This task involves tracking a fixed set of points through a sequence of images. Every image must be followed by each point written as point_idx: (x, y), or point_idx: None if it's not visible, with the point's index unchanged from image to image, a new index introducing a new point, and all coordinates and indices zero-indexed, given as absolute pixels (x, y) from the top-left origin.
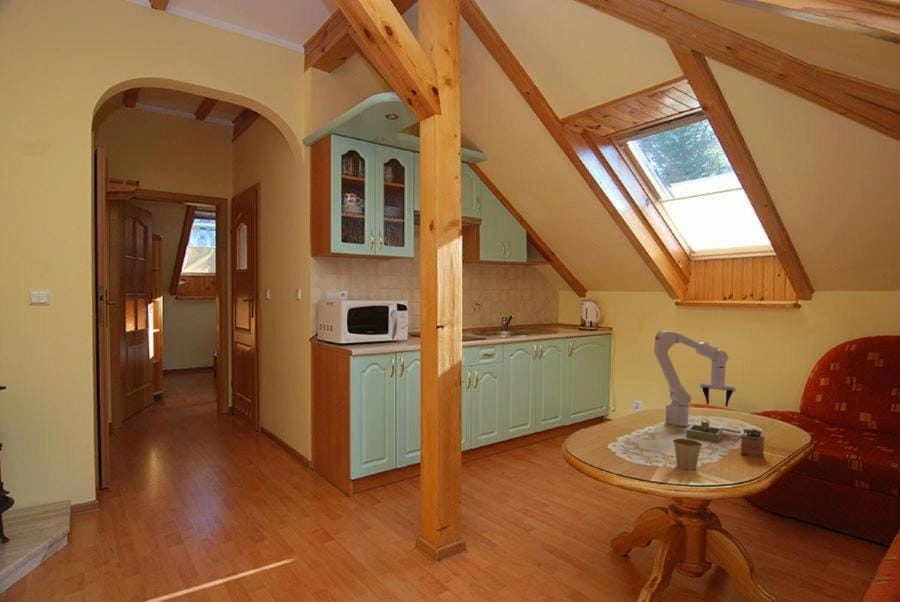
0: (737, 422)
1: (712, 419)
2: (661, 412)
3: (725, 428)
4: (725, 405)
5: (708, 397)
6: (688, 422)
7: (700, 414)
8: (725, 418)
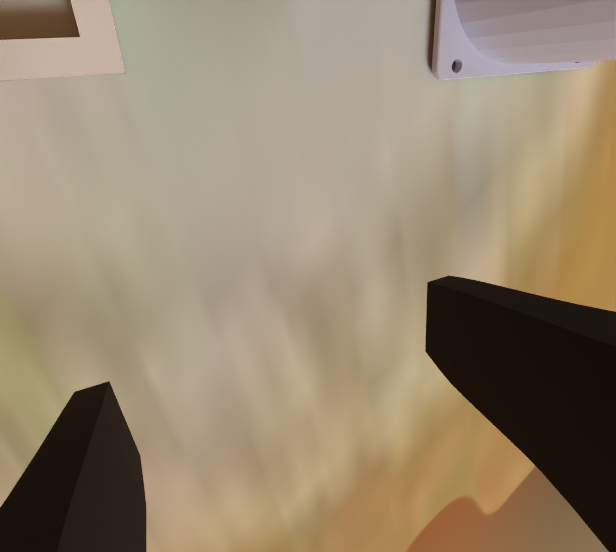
0: None
1: (306, 415)
2: (607, 294)
3: (16, 39)
4: (103, 391)
5: (529, 403)
6: (453, 60)
7: (401, 465)
8: (238, 525)
